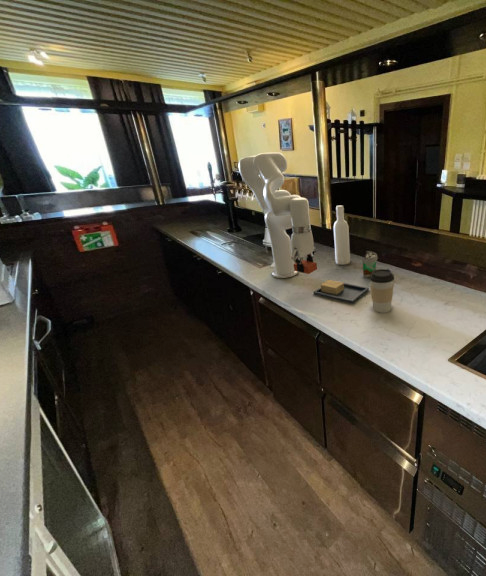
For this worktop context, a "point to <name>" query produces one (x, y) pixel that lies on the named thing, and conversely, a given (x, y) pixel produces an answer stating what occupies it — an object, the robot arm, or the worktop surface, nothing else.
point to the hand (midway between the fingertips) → (305, 268)
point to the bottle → (341, 238)
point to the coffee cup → (382, 289)
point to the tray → (345, 293)
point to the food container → (369, 263)
